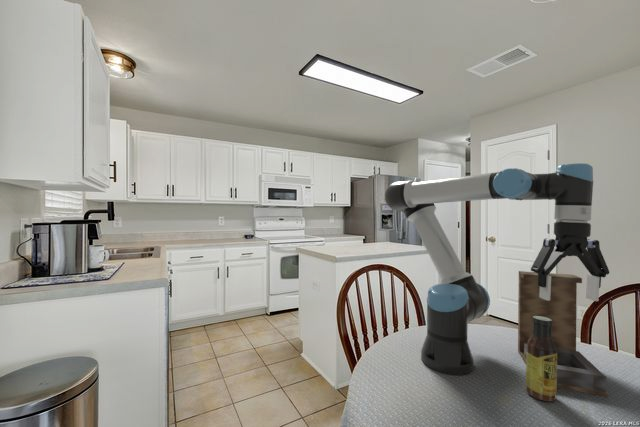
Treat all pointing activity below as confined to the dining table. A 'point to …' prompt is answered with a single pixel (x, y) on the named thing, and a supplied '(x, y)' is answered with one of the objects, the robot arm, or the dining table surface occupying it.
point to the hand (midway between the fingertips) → (568, 299)
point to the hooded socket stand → (558, 330)
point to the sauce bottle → (541, 361)
